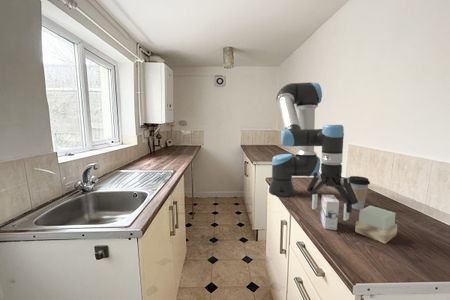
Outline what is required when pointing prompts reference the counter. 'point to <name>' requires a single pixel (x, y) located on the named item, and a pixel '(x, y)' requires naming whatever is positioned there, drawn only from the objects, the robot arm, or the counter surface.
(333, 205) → the ink box
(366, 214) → the tower top
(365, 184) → the coffee cup
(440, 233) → the counter surface
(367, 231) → the tower base
